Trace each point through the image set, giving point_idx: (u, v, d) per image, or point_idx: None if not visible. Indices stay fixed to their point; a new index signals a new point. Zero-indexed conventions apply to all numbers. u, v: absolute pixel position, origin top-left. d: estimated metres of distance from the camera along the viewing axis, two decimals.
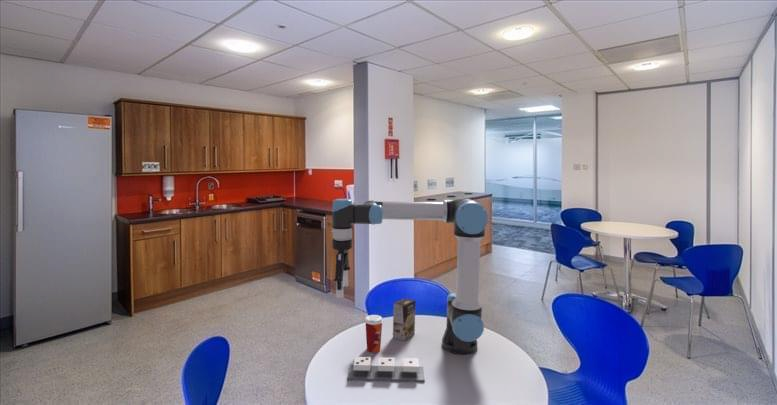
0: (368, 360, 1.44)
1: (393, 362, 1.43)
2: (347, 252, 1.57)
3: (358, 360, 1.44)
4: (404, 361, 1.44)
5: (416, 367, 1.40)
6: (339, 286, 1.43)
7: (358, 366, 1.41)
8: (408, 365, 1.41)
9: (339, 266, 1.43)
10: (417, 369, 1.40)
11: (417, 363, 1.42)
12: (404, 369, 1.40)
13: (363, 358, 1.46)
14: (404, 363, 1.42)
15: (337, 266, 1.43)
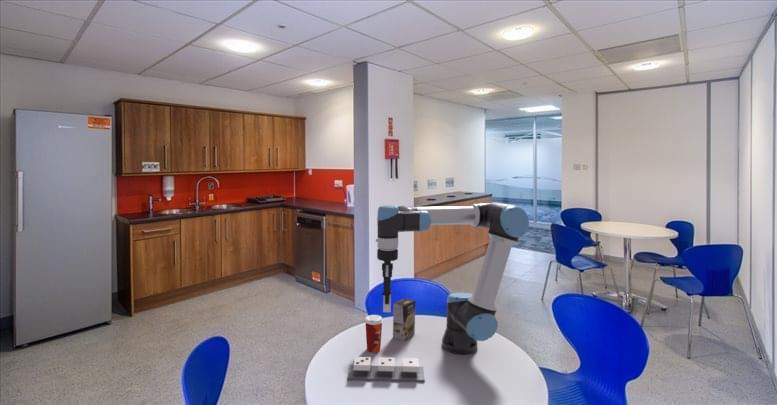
0: (368, 360, 1.44)
1: (393, 362, 1.43)
2: None
3: (358, 360, 1.44)
4: (404, 361, 1.44)
5: (416, 367, 1.40)
6: (387, 300, 1.39)
7: (358, 366, 1.41)
8: (408, 365, 1.41)
9: (387, 283, 1.36)
10: (417, 369, 1.40)
11: (417, 363, 1.42)
12: (404, 369, 1.40)
13: (363, 358, 1.46)
14: (404, 363, 1.42)
15: (385, 283, 1.36)
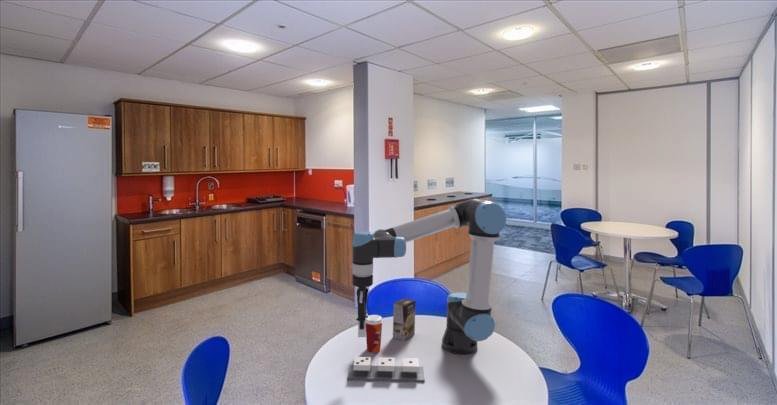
0: (368, 360, 1.44)
1: (393, 362, 1.43)
2: None
3: (358, 360, 1.44)
4: (404, 361, 1.44)
5: (416, 367, 1.40)
6: (362, 326, 1.40)
7: (358, 366, 1.41)
8: (408, 365, 1.41)
9: (361, 309, 1.37)
10: (417, 369, 1.40)
11: (417, 363, 1.42)
12: (404, 369, 1.40)
13: (363, 358, 1.46)
14: (404, 363, 1.42)
15: (359, 309, 1.37)
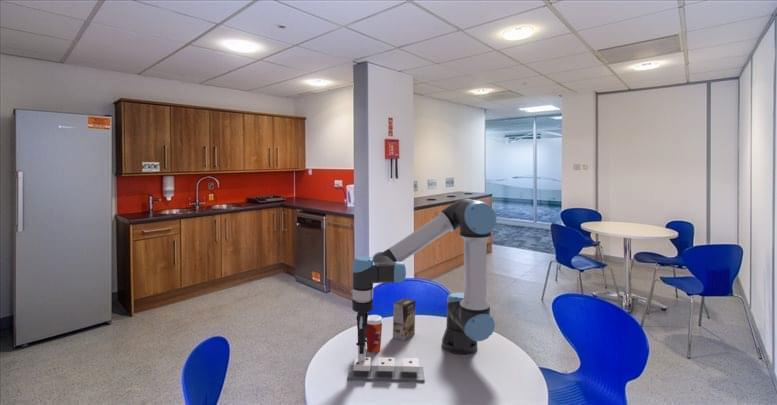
0: (368, 360, 1.44)
1: (393, 362, 1.43)
2: None
3: None
4: (404, 361, 1.44)
5: (416, 367, 1.40)
6: (362, 350, 1.41)
7: (358, 366, 1.41)
8: (408, 365, 1.41)
9: (361, 334, 1.38)
10: (417, 369, 1.40)
11: (417, 363, 1.42)
12: (404, 369, 1.40)
13: None
14: (404, 363, 1.42)
15: (359, 334, 1.38)
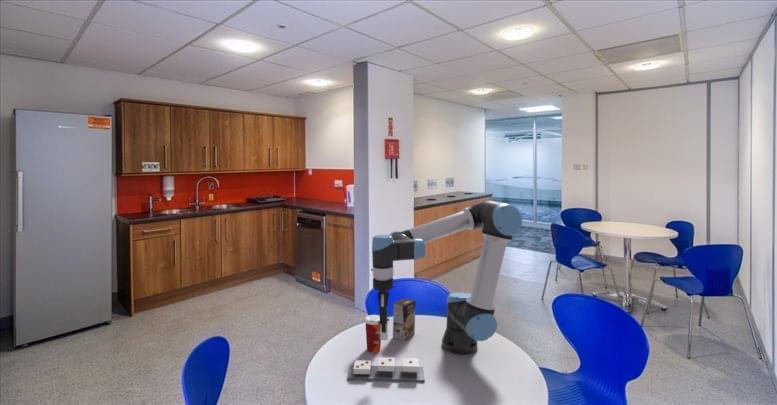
0: (368, 364, 1.44)
1: (393, 362, 1.43)
2: None
3: (358, 364, 1.44)
4: (404, 361, 1.44)
5: (416, 367, 1.40)
6: (384, 329, 1.41)
7: (358, 370, 1.41)
8: (408, 365, 1.41)
9: (383, 312, 1.37)
10: (417, 369, 1.40)
11: (417, 363, 1.42)
12: (404, 369, 1.40)
13: (363, 362, 1.46)
14: (404, 363, 1.42)
15: (381, 312, 1.37)
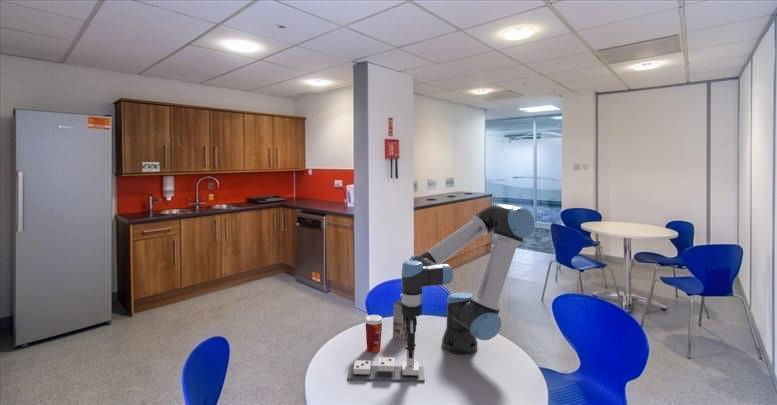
0: (368, 364, 1.44)
1: (393, 362, 1.43)
2: None
3: (358, 364, 1.44)
4: (404, 364, 1.44)
5: (416, 370, 1.40)
6: (411, 355, 1.41)
7: (358, 370, 1.41)
8: (408, 369, 1.41)
9: (411, 339, 1.37)
10: (417, 373, 1.40)
11: (417, 367, 1.43)
12: (404, 373, 1.41)
13: (363, 362, 1.46)
14: (404, 367, 1.42)
15: (409, 338, 1.37)
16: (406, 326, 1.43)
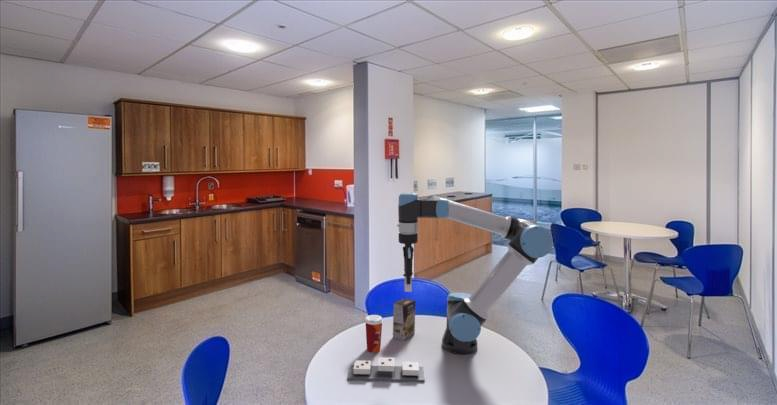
0: (368, 364, 1.44)
1: (393, 362, 1.43)
2: None
3: (358, 364, 1.44)
4: (404, 365, 1.44)
5: (416, 370, 1.40)
6: (409, 280, 1.51)
7: (358, 370, 1.41)
8: (408, 369, 1.41)
9: (409, 264, 1.47)
10: (417, 373, 1.40)
11: (417, 367, 1.43)
12: (404, 373, 1.41)
13: (363, 362, 1.46)
14: (404, 367, 1.42)
15: (407, 264, 1.47)
16: (403, 255, 1.52)
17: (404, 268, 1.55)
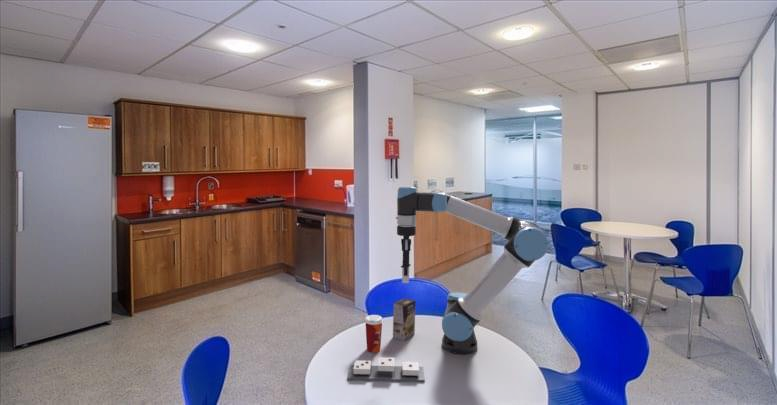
0: (368, 364, 1.44)
1: (393, 362, 1.43)
2: None
3: (358, 364, 1.44)
4: (404, 365, 1.44)
5: (416, 370, 1.40)
6: (406, 272, 1.54)
7: (358, 370, 1.41)
8: (408, 369, 1.41)
9: (406, 256, 1.51)
10: (417, 373, 1.40)
11: (417, 367, 1.43)
12: (404, 373, 1.41)
13: (363, 362, 1.46)
14: (404, 367, 1.42)
15: (404, 255, 1.51)
16: None
17: None
